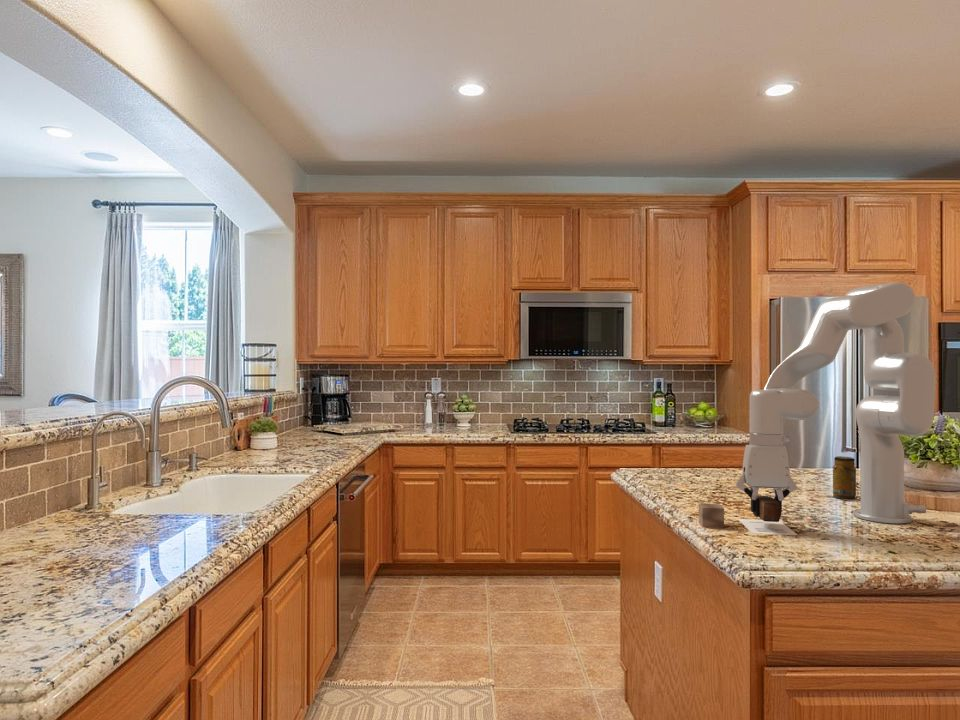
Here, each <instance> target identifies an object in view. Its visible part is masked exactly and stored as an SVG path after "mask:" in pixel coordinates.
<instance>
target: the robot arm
mask: <svg viewBox="0 0 960 720" xmlns="http://www.w3.org/2000/svg"><path fill="white" fill-rule="evenodd" d="M915 303H916V296H915V291H914V290H913V288H912V287H911V286H909V285H908V284H906V283H905V282H900V281H897V282H895V281H894V282H887V283H886V282H885V283H881V284H880V283H879V284H871V285H866V286H860V287H859V286H858V287H855V288H853V289H850V290H848V291H847V293H845V295H843V296H835V297H830V298H827V299H825V300H823V301H822V302H821V303H820V304H819V305H818V307H817V309H816V310H815V312H814V315H813V317H812V319H811V321H810V323H809V326H808V327H807V329H806V331H805V334H804V336H803V338H802V340H801V342H800V344H799V346H798V347H797V348H796V349H795V350H794V351H792V352H791V353H790V354H789V355H788V356H787V357H786V358H784V360H783V361H782V362H780V363H779V365H777V366H776V368H775V369H773V371H772V373H771V374H770V376H769V377H768V379H767V382H766V383H765V385H764V388H763V389H754V390H752V391H751V392H750V393H749V435H748V436H749V442H748V443H749V444H745V448H744V452H743V460H742V473H741V476H740V477H739V479H738V480H737V481H736V483H735V487H737V488H738V489H739V490H741V491H742V492H744V493H745V494H746V495H747V496H748V497H749V498H750V512H751V513H752V514H753V516H754V517H757V518H759V517H758V516H759V500H758V497H757V495H759V490H760V489H759V488H761V489H763V488H764V489H773V491H774V492H773V493H774V499H775V500H776V501H778V502H779V503H780V504H781V514H783V501H784V500H785V499H786V498H787V496H789V494H790V493H793V492H794V491H797V489H798V485H796V483H795V481H794V480H793V478H792V477H791V471H790V469H791V468H790V461H789V455H788V451H787V447H786V446H785V443H789V442H790V439H791V438H790V436H786V435H785V434H784V419H787V420H796V421H806V420H808V419H811V418H812V417H814V416H815V415H816V414H817V412H818V411H819V409H820V408H819V407H820V403H819V399H818V398H817V396H816V395H815V394H814V393H812V392H811V391H809V390H807V389H801V388H800V389H799V388H795V387H796V385H797V384H798V383H799V382H800V381H801V380H802V379H803V378H805V377H806V376H808V375H810V374H812V373H814V372H817V371H818V370H821V369H823V368H825V367H827V366H829V365H831V364H832V363H833V362H834V361H835V359H836V357H837V355H838V352H839V350H840V348H841V346H842V344H843V342H844V340H845V339H846V335H847V334H848V332H849V331H852V330H853V331H854V330H862V331H863V334H864V342H865V343H864V367H863V369H864V371H863V373H864V374H863V376H864V382H865V384H867V386H868V387H870V388H872V389H875V390H878V391H879V390H880V391H893V392H894V391H895V392H896V391H897V392H899V396H898V395H885V394H883V395H881V394H879V395H877V394H874V395H869V396H866V397H864V398H863V399H861V400H860V401H859V402H858V403H857V405H856V409H855V418H856V419H855V420H856V423H857V428H858V433H859V441H860V498H861V500H860V508H857V509H854V510H853V516H854V517H857V518H859V519H861V520H865V521H870V522H876V523H883V524H909V523H911V522H912V521H913V517H912V514H913V513H914V514H915V513H917V514H926V513H927V507H926V506H925V505H915V504H910V502H906V501H905V451H904V450H905V449H904V446H903V443H902V441H901V438H900V437H899V435H900V436H901V435H902V436H911V437H913V436H914V437H917V436H922V435H924V434H927V432H929V431H930V429H931V427H932V425H933V422H934V417H935V402H936V400H935V398H936V371H935V367H934V365H933V363H932V362H931V360H930V359H929V358H928V357H927V356H925V355H924V354H921V353H917V352H905V339H904V338H905V337H904V335H905V334H904V331H903V329H902V326H901V325H900V323H899V322H898V321H897V319H900V318H901V317H903V316H906V315H907V314H909V312H910V311H911V310H912V309H913V307H914V305H915ZM745 484H746V485H747V486H748V487H750V488H748V487H747V486H745Z"/></svg>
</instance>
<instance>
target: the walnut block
mask: <svg viewBox="0 0 960 720" xmlns="http://www.w3.org/2000/svg"><path fill="white" fill-rule="evenodd" d="M698 523H699V525H700V527H702V528H713V529H715V528H719V529H725V508H724V506H723V505H721V504H720V503H705V502H704V503H701V502H699V503H698Z"/></svg>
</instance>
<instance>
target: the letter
mask: <svg viewBox="0 0 960 720" xmlns="http://www.w3.org/2000/svg"><path fill="white" fill-rule="evenodd" d="M738 521H739V522H740V523H741V524H742V525H743V526H744V527H745V528H746V529H747V530H748V531H749V532H750V533H751V534H759V535H761V534H763V535H765V534H766V535H783V536H784V535H787V536H798V534H797V533H796V532H794V530H792V529H791V528H790V527H788V526H787V525H786V524H785V523H783V522H782V521H781V520H779V522H766V521H763V520H762V519H752V518H748V519H747V518H746V519H745V518H738Z"/></svg>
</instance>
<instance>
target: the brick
mask: <svg viewBox="0 0 960 720" xmlns="http://www.w3.org/2000/svg"><path fill="white" fill-rule="evenodd" d="M757 497H758V500H759V516H758V517H757V518H759V519H760V520H763V521H766V522H779V521H780V518H782V513H781V504H780V503H779V502H778V501H776V500H775V498H773V497H772V496H768V495H763V494H762V495H761V494H758V495H757Z"/></svg>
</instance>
